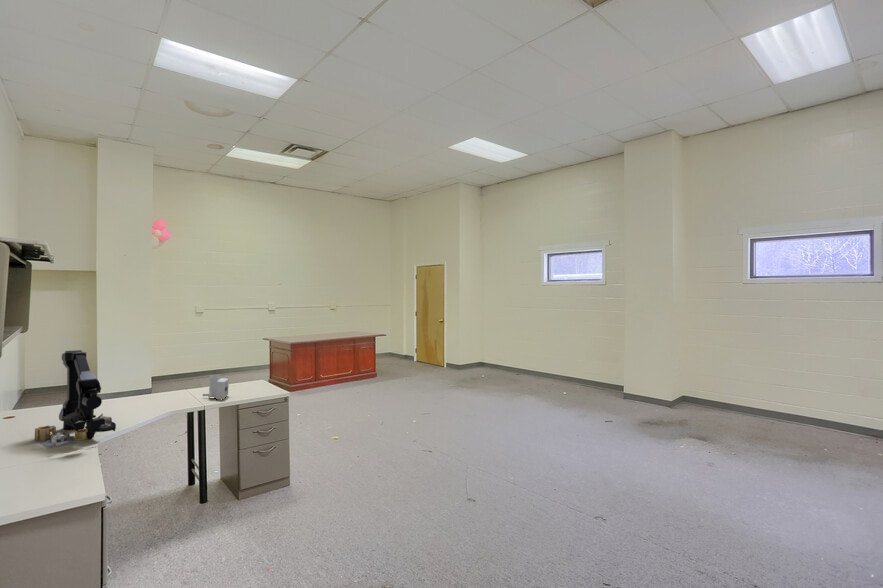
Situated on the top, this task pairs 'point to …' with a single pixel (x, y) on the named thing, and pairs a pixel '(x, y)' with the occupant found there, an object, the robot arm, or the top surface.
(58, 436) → the sun gear
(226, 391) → the grey block housing
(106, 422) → the caster wheel
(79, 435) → the planet gear
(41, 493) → the top surface
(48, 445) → the plate
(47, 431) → the seated gear
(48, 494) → the top surface
